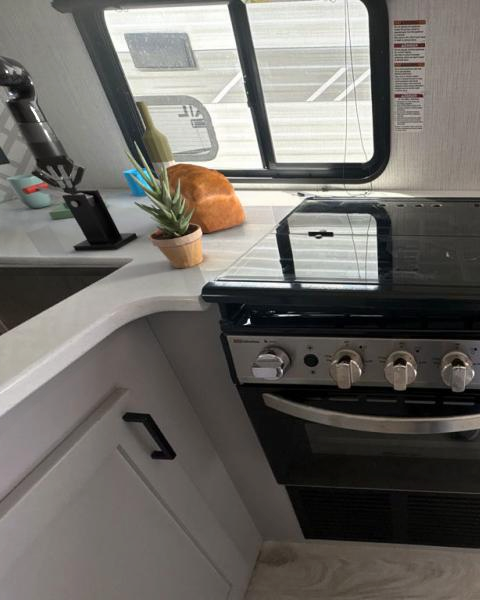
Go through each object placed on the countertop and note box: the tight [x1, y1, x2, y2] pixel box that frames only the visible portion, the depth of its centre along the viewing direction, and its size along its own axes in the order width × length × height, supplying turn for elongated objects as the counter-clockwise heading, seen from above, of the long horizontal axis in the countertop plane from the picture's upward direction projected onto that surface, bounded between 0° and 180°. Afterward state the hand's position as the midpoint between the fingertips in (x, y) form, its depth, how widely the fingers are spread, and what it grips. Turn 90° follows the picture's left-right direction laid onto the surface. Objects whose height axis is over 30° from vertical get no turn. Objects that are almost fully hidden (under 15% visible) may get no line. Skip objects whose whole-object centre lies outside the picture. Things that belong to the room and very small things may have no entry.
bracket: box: [62, 189, 138, 252], centre depth 80 cm, size 10×8×13 cm
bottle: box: [135, 101, 177, 182], centre depth 112 cm, size 7×7×30 cm
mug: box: [122, 167, 152, 197], centre depth 123 cm, size 12×8×8 cm
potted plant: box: [124, 140, 204, 269], centre depth 67 cm, size 10×10×25 cm
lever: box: [22, 182, 95, 207], centre depth 77 cm, size 12×5×2 cm, turn 92°
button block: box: [48, 198, 109, 221], centre depth 106 cm, size 12×10×4 cm
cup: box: [6, 173, 52, 209], centre depth 111 cm, size 8×8×10 cm
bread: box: [158, 162, 246, 234], centre depth 93 cm, size 14×26×16 cm, turn 49°
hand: (75, 199), depth 105 cm, fingers closed
